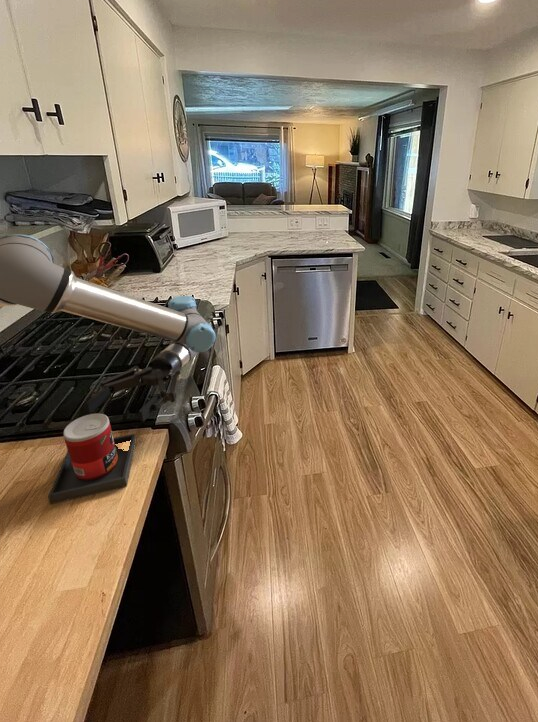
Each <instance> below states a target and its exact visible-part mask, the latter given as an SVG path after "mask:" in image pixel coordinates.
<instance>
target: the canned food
mask: <svg viewBox="0 0 538 722" xmlns="http://www.w3.org/2000/svg"><path fill="white" fill-rule="evenodd" d="M114 438H115V437H114V433H113V430H112V426H111V423H110V419H109V417H108V416H107V415H106V414H104V413H90V414H86V415H82V416H80V417H78V418H76V419H74V420H73V421H71V422H69V423H68V424H67V425H66V426H65V428H64V429H63V439H64V443H65V446H66V449H67V452H68V453H69V456H70V459H71V462H72V465H73V469H74V472H75V474H76V476H77V477H78V478H79V479H81V480H85V481H89V480H95V479H98V478H101V477H103V476H105V475H106V474H108V473H109V472H110V471H112V470H113V469H114V467H115V466H116V464H117V460H118V455H117V451H116V447H115V442H114Z"/></svg>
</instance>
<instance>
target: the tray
mask: <svg viewBox="0 0 538 722" xmlns="http://www.w3.org/2000/svg"><path fill="white" fill-rule="evenodd" d="M113 438H114V442H115V444H118V443H122V442H126V441H130V440H131V442H130V446H129V450H128V451H123V450H124V449H123V450H122V449H118V447H117V446H116V445H115V447H116V451H117V455H118V460H117V464H116V466H115V467H114V469H113V470H112V471H110V472H109V473H108V474H106V475H105V476H103V477H101V478H98V479H95V480H89V481H85V480H81V479H79V478H78V477H77V476H76V474H75V472H74V469H73V465H72V462H71V459H70V456H69V453H68V451H67V452H66V454H65V456H64V459H63V461H62V463H61V465H60V468H59V470H58V473H57V475H56V477H55V479H54V481H53V484H52V486H51V488H50V490H49V493H48V495H47V498H48V501H49V503H50V505H53V504H54V505H55V504H59V503H62V502H66V501H70V500H74V499H78V498H83V497H87V496H90V495H95V494H99V493H103V492H108V491H112V490H116V489H120V488H124V487H128V484H129V483H128V482H129V478H130V474H131V469H132V464H131V462H132V463H133V459H132V457H133V458H134V455H133V450H134V445H135V439H136V440H137V436H136V433H130V434H127V435H126V434H125V435H121V436H115V437H113ZM135 446H136V445H135ZM134 451H135V450H134Z"/></svg>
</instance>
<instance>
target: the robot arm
mask: <svg viewBox="0 0 538 722" xmlns="http://www.w3.org/2000/svg"><path fill="white" fill-rule="evenodd" d="M196 303H197V302H196V299H195V297H193V296H191V295H179V296H175V297H172V298H171V299H170V300H169V301H168V302H167V305H168V307H166V306H164V305H161V304H157V303H154V302H151V301H149V300H145V299H142V298H139V297H136V296H134V295H130V294H127V293H124V292H121V291H118V290H115V289H112V288H109V287H106V286H104V285H100V284H97V283H94V282H91V281H89V280H86V279H83V278H80V277H77V276H76V274H75V273H74V271H73V270H70V269H67V268H64V267H62V266H59V265H58V264H55V258H54V255H53V252H52V251H51V250H50V248H49V247H48V246H47V245H46V244H45V243H44V242H43V241H41V240H40V239H38V238H36V237H33V236H30V235H27V234H19V233H18V234H9V235H4V236H1V237H0V310H1V309H2V308H3V307H6V306H7V307H9V306H17V305H18V306H22V307H26V308H30V309H33V310H37V311H41V312H44V313H45V312H46V313H49V314H55V313H58V312H65V313H68V314H71V315H75V316H79V317H84V318H86V319H90V320H93V321H94V320H95V321H98V322H101V323H104V324H109V325H113V326H116V327H119V328H124V329H128V330H131V331H135V332H138V333H142V334H145V335H150V336H154V337H157V338H160V339H165V340H167V341H172V342H171V343H170V344H169V345H168V346H166V347H165V348H164V349H163V350H161V351H160V352H159V353H158V354H157V355H155V356H154V357H153V358H152V359H151V360H150V361H149V363H148V365H147V366H146V367H145V368H142V369H141V368H139V366H138V365H134V366H132V367H131V368H129V369H128V370H125V371H123V372H121V373H119V374H116V375H114V376H112V377H109V378H107V379H104V380H102V381H100V382H99V390H98V391H97V392H96V393H94V394H93V395H92V397H91V398H90V399H89V400H87V401H86V402H85V403H84V406H85V410H86V414H88V415H90V414H93V412H95V410H97V409H98V408H99V407H100V406H101V405H103V404H104V403H105V402H106V401H107V400H109V399H110V398H111V397H112V394H116V393H118V392H121V391H123V390H124V391H125V390H126V389H130V388H132V387H141V386H143V385H144V386H150V387H155V386H158V390H159V393H155V394H154V395H153V396H152V398H150V399H149V400H148V401H147V402H146V403H145V404H144V405H142V406H141V408H140V409H139V410H138V417H139V421H140V422H143V423H144V422H145V421H146V420H147V419H148V418H149V416H151V415H152V414H153V413H154V412H155V411H157V410H159V409H160V408H161V407H162V406H163V405H164V404H166V403H168V402H170V403H175V402H176V401H177V396H178V389H179V385H180V384H181V381H182V374H181V370H183V369H184V368H185V367H186V366H187V365H188V364H189V363H190V362H191V361H192V360H193V359H194V358H195V357H197V355H199V354H200V353H204V352H207V351H208V350H210V349H211V348H212V347H213V346H214V344H215V342H216V338H217V337H216V332H215V330H214V329H213V327H212V325H211V324H210V323H209V322H207V320H206V319H204V317H203V316H202V315H201V314H200V313H199V312H198V309H197V304H196ZM139 377H140V379H139ZM166 382H170V385H169V386H170V387H169V391H168V392H167V389H166V386H165V383H166Z"/></svg>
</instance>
